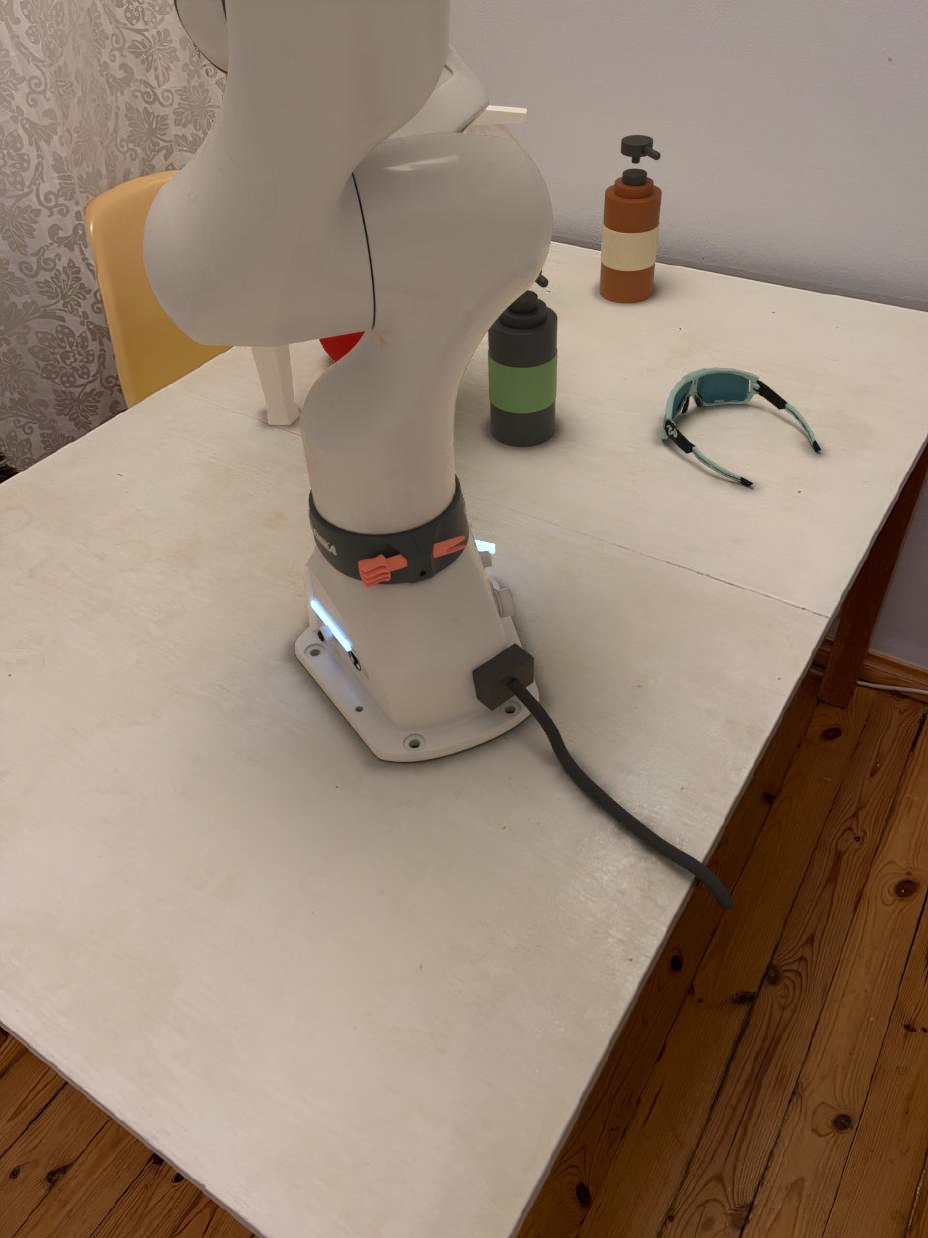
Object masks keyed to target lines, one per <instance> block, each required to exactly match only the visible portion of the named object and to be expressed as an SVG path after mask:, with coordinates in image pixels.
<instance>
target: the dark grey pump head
mask: <svg viewBox="0 0 928 1238" xmlns="http://www.w3.org/2000/svg"><path fill="white" fill-rule="evenodd" d="M653 148H654V138H653V137H652V136H648V135H644V134H630V135H626V136H623V137H622V138H621V139H620V154H621V155H622V156H624V157H628V158H631V163H632V164H635V165H636V164H638V165H639V164H640V162H641V158H644V157H649V158H651V159H652V160H654V161H659V160H660V159H661V157H662V155H661V153H660V152H659V151H657V150H656V149H653Z"/></svg>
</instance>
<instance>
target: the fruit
mask: <svg viewBox="0 0 928 1238" xmlns="http://www.w3.org/2000/svg"><path fill="white" fill-rule="evenodd" d="M364 333H365V331H362V332H356V333H351V334H345V335H339V336H333V337H327V338H321V339H318V341H319V343H320V345H321V347H322V349H323V350H324V351H325V353H326V354H327V355H328V356H329V358H330V359H331V360H332V361H333V362H334V363H335V362H337V361H338V360H340V359H341V358H342V357H343V356H345V355H346V354H347V353H348V352H350V351H351V350H352V349H353V348H354V347H355V345H356V344H357V343H358V342H359V340H360V339H361V338H362V336H363V334H364Z"/></svg>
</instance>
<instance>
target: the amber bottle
mask: <svg viewBox="0 0 928 1238" xmlns="http://www.w3.org/2000/svg"><path fill="white" fill-rule="evenodd" d="M613 183H614V184H612V185H610V186H608V187H607V188H606V189H605V191H604V204H603V221H602V227H601V229H602V230H601V248H600V272H599V273H600V274H599V275H600V276H599V295H600V296H601V297H602V298H603V299H604V300H606V301H609V302H613V303H618V304H637V303H641V302H644V301H646V300H648V299H650V298H651V296H652V295H653V292H654V291H653V290H654V280H655V279H654V278H655V270H656V269H655V268H656V262H657V254H658V246H659V245H658V244H659V233H660V224H661V223H660V217H661V206H662V196H663V191H662V189H661V188H660V187H659V186H658V185H655V182H654V180H653V179H652V178H651V177H649V176H648V171H646V170H645V169H642V168H627V169H625V170H623V171H622V174H621V176H620V177H618V178H616V179H615V180H614V182H613Z"/></svg>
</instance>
